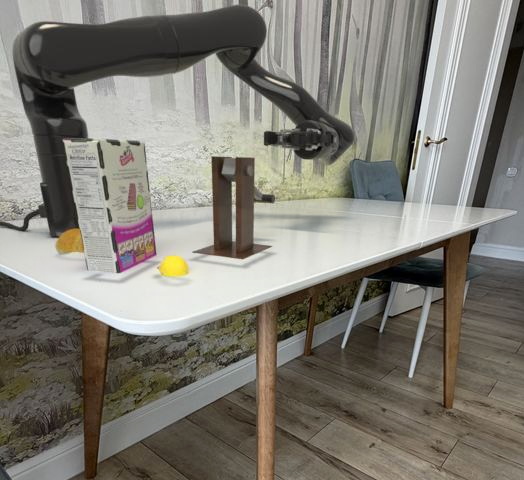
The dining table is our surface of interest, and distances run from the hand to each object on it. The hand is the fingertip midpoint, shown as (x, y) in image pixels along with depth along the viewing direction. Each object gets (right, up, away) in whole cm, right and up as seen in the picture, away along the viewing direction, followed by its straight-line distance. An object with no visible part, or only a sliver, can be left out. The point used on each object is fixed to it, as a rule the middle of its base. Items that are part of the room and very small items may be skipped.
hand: (287, 137), depth 74 cm
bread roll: (-33, -25, -11) cm, 43 cm away
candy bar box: (-24, -29, -19) cm, 42 cm away
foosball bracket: (-9, -25, -9) cm, 28 cm away
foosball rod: (-7, -14, -10) cm, 19 cm away
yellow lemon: (-17, -31, -22) cm, 42 cm away
